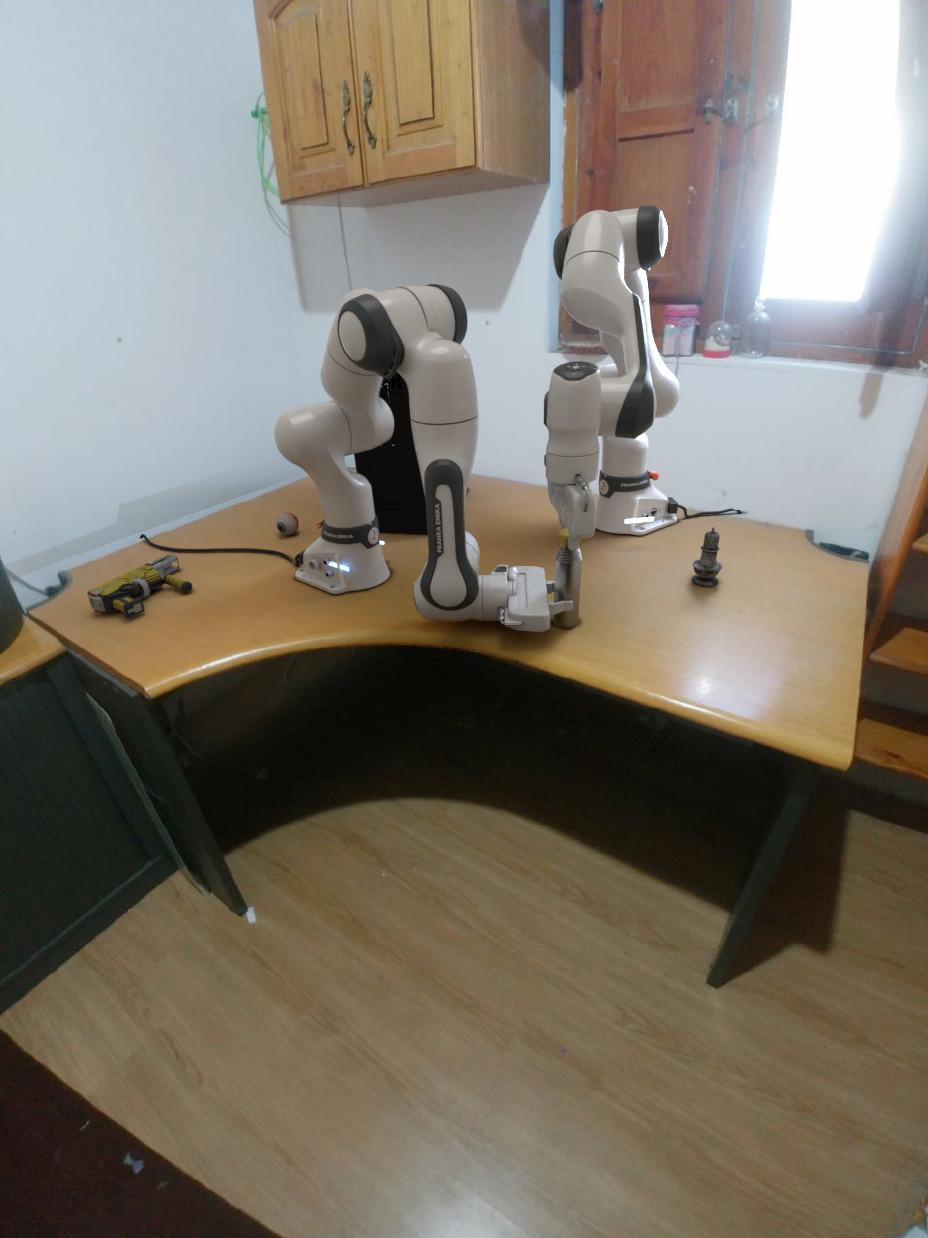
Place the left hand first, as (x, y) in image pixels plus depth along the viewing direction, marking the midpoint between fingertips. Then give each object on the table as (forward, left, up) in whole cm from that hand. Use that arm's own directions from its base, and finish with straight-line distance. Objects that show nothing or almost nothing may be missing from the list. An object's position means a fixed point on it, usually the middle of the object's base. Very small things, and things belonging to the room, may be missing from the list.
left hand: (571, 596), depth 115 cm
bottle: (-1, 0, -5) cm, 5 cm away
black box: (-62, +44, -6) cm, 76 cm away
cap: (-1, 0, +13) cm, 13 cm away
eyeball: (-86, +14, -6) cm, 87 cm away
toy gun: (-89, -26, -6) cm, 93 cm away
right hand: (-1, 0, +11) cm, 11 cm away
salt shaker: (+20, +28, -6) cm, 35 cm away
